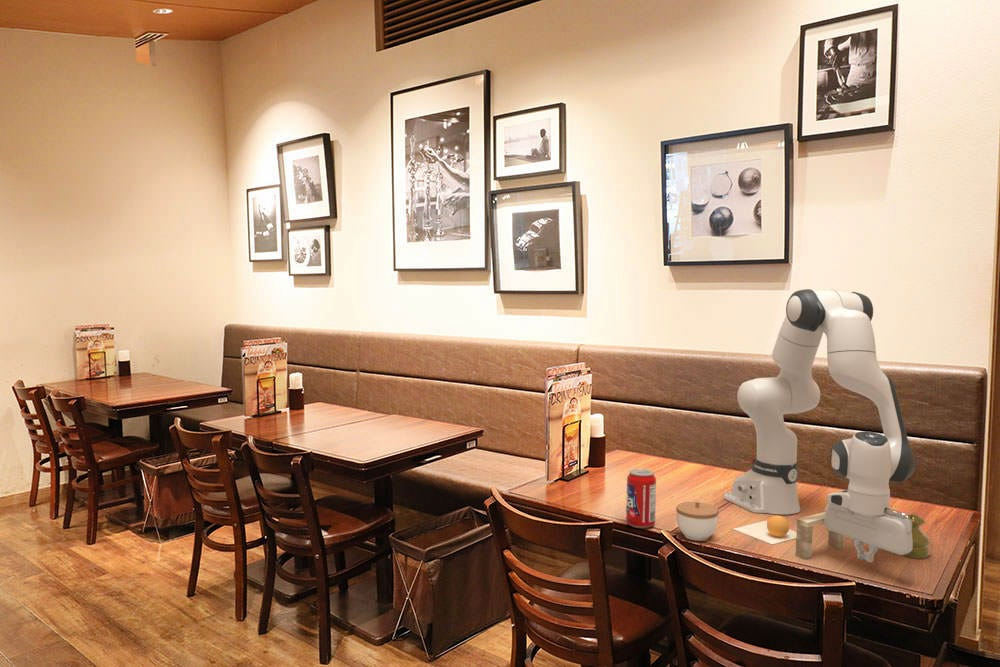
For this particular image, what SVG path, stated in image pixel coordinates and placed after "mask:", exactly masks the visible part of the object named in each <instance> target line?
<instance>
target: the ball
mask: <svg viewBox="0 0 1000 667" xmlns="http://www.w3.org/2000/svg"><path fill="white" fill-rule="evenodd" d="M767 529H768V531H769V532H770V534H772V535H773V536H775V537H783V536H785V535H786V534H787V533H788V531H789V530H790V524H789V522H788V520H787V519H786V518H785V517H784V516H781V515H773V516H771V517H769V519H768V520H767Z"/></svg>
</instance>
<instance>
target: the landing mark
mask: <svg viewBox="0 0 1000 667" xmlns="http://www.w3.org/2000/svg"><path fill="white" fill-rule="evenodd" d="M767 522H768V520H762V521H759V522H755V523H751V524H747V525H742V526H739V527H735V528H732V530H733V531H736V532H738V533H739V534H740V533H741V534H743V535H745V536H746V535H747V536H748V537H751V538H754V539H756V540H758V541H761V542H764V543H766V544H769V545H770V546H774V545H777V544H781V542H782V543H785V542H789V541H792V539H793V540H796V533H797V531H795V530H792V529H789V531H788V533H787V534H786V535H785V536H783V537H775V536H773V535H772V534H770V532H769V531H768V529H767ZM788 540H789V541H788ZM784 541H785V542H784Z"/></svg>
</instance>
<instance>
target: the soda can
mask: <svg viewBox="0 0 1000 667" xmlns="http://www.w3.org/2000/svg"><path fill="white" fill-rule="evenodd" d="M654 473H655V472H654V471H653V470H650V469H645V468H635V469H634V468H633V469H630V470H629V473H628V475H627V476H626V477H627V478H626V503H625V504H626V506H625V508H626V509H625V512H626V513H625V515H626V516H625V520H626V524H627V525H629V526H631V527H632V528H636V529H649V528H651V527H653V526H654V525H655V524H656V505H657V504H656V503H657V502H656V499H657V477H656V476H655V474H654Z"/></svg>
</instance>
